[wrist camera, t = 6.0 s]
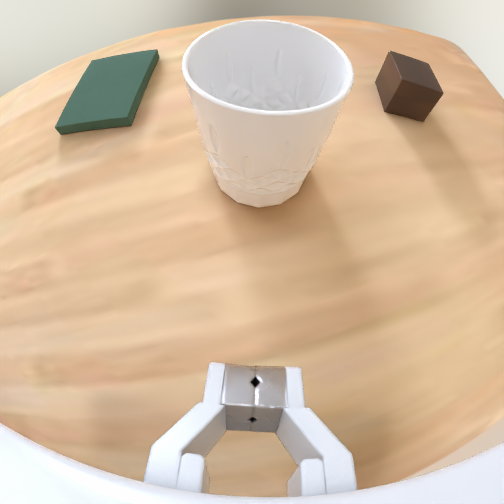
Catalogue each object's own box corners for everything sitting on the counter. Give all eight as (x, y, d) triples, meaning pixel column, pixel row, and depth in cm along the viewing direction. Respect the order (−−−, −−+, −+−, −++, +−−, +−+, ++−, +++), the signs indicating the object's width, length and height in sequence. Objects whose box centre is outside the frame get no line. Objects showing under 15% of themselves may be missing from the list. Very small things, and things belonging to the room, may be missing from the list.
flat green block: (60, 134, 22) (54, 127, 20) (95, 67, 24) (91, 60, 23) (131, 126, 22) (127, 117, 20) (159, 57, 24) (157, 49, 23)
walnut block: (384, 111, 23) (402, 79, 18) (374, 81, 24) (389, 50, 20) (423, 121, 23) (443, 93, 18) (411, 91, 24) (428, 63, 20)
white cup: (332, 193, 20) (387, 96, 11) (229, 234, 19) (215, 139, 10) (283, 115, 22) (300, 13, 12) (191, 145, 21) (165, 39, 11)
